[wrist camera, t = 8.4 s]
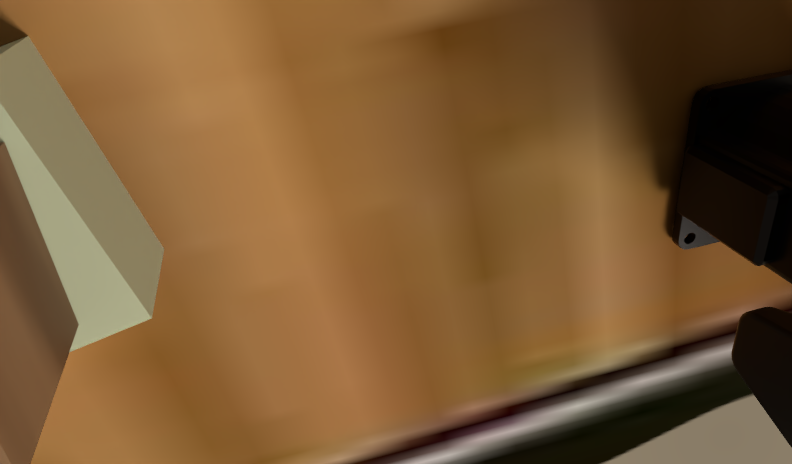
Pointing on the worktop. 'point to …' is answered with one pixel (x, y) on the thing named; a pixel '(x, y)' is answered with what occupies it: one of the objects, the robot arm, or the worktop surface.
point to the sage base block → (76, 201)
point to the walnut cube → (27, 322)
